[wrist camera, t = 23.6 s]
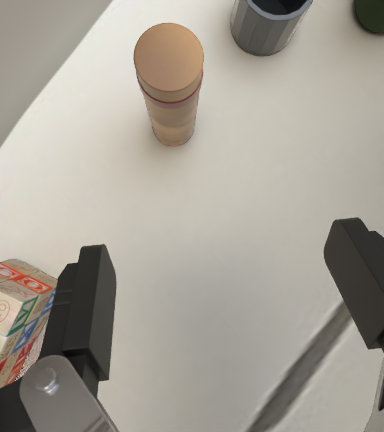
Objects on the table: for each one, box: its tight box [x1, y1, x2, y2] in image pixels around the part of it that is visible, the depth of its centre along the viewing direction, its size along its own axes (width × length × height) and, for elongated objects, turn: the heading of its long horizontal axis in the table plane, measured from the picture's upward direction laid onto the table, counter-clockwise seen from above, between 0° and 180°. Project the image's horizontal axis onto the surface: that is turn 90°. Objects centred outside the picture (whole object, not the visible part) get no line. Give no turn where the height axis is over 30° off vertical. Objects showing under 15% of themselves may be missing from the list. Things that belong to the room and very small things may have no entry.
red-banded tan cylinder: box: [134, 23, 204, 146], centre depth 29 cm, size 5×5×15 cm
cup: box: [231, 0, 313, 56], centre depth 34 cm, size 7×7×6 cm
